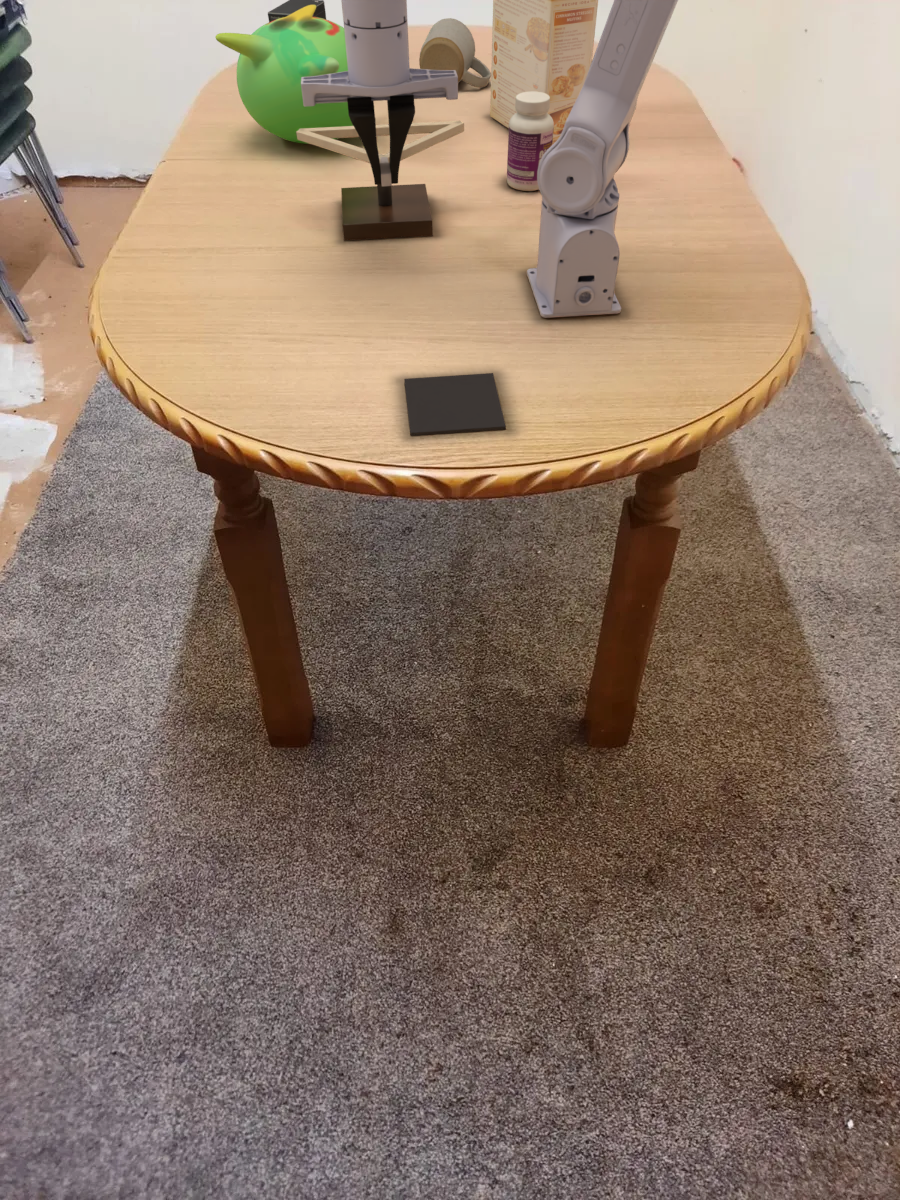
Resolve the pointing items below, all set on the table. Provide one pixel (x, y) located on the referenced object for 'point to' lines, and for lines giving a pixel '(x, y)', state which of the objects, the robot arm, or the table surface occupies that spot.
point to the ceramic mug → (453, 52)
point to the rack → (386, 212)
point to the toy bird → (289, 71)
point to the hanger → (325, 135)
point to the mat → (453, 404)
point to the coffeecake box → (540, 54)
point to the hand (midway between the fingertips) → (386, 180)
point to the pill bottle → (528, 139)
